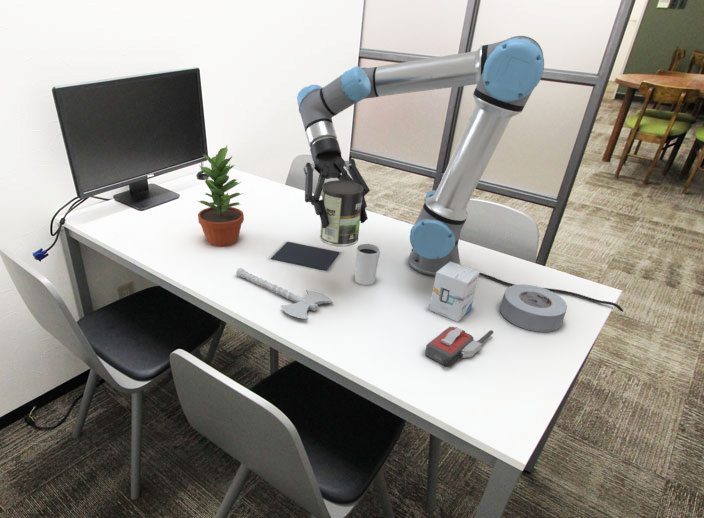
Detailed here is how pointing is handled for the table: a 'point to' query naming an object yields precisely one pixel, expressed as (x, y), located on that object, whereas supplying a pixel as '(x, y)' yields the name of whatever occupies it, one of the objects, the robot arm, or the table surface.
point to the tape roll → (533, 308)
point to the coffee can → (342, 212)
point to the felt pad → (306, 256)
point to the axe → (290, 296)
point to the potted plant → (220, 204)
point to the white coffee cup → (366, 263)
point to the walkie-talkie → (454, 345)
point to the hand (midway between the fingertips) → (345, 223)
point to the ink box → (453, 290)
